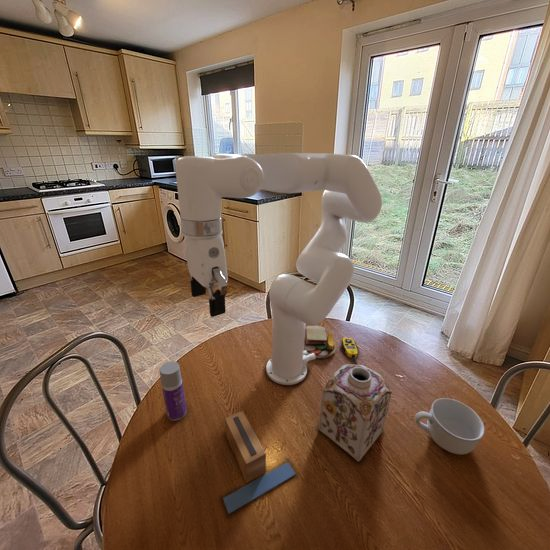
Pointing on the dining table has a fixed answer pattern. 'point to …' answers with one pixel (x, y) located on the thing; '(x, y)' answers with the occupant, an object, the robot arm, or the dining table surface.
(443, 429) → the teacup
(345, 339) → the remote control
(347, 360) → the dining table surface
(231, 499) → the strip
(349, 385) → the decorative jar
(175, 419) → the container
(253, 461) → the token holder
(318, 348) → the toy sandwich meal
